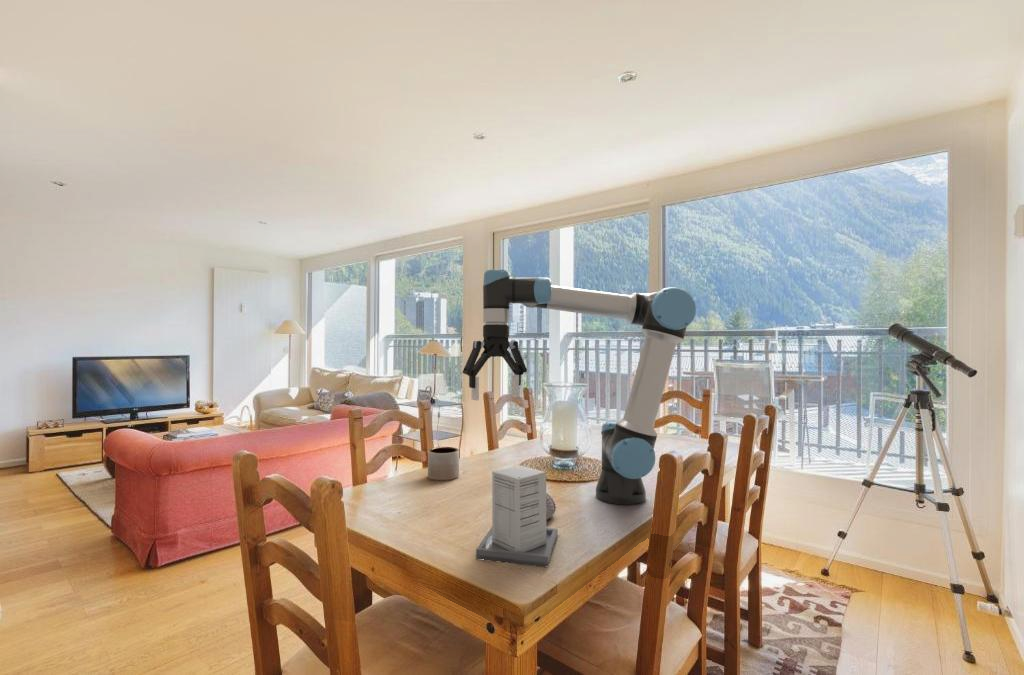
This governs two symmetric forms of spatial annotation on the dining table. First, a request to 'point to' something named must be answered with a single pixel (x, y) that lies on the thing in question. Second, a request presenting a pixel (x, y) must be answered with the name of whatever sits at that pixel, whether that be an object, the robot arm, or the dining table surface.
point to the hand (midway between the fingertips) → (495, 398)
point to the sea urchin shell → (549, 506)
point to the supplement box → (519, 508)
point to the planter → (443, 463)
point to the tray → (531, 557)
